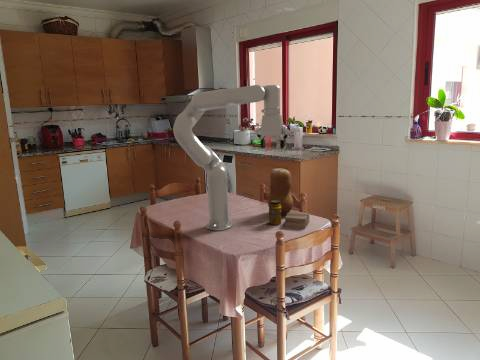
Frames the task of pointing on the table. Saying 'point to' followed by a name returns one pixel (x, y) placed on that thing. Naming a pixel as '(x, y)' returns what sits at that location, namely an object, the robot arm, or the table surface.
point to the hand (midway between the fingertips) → (272, 148)
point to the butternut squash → (281, 189)
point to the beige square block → (297, 219)
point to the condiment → (274, 214)
